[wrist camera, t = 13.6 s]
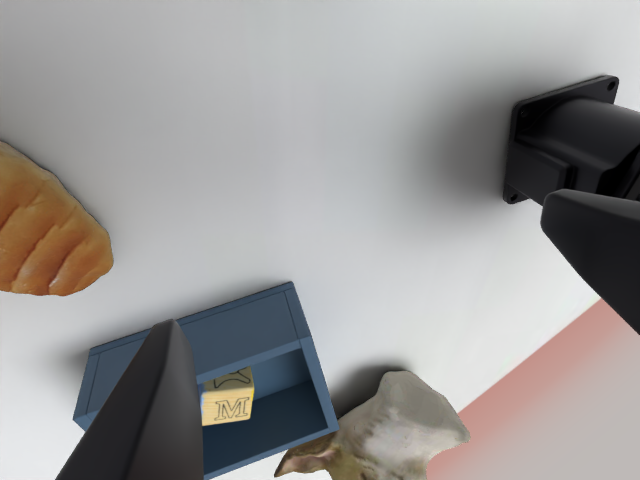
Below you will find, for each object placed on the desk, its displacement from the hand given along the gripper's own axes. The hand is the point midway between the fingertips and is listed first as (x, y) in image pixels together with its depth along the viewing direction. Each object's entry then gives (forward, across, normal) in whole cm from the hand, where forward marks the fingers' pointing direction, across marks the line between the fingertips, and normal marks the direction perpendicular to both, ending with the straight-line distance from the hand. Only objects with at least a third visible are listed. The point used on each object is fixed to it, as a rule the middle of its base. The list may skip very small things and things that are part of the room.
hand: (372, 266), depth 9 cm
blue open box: (+12, +8, +15) cm, 21 cm away
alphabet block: (+12, +8, +15) cm, 20 cm away
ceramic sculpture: (+12, -1, +27) cm, 29 cm away
